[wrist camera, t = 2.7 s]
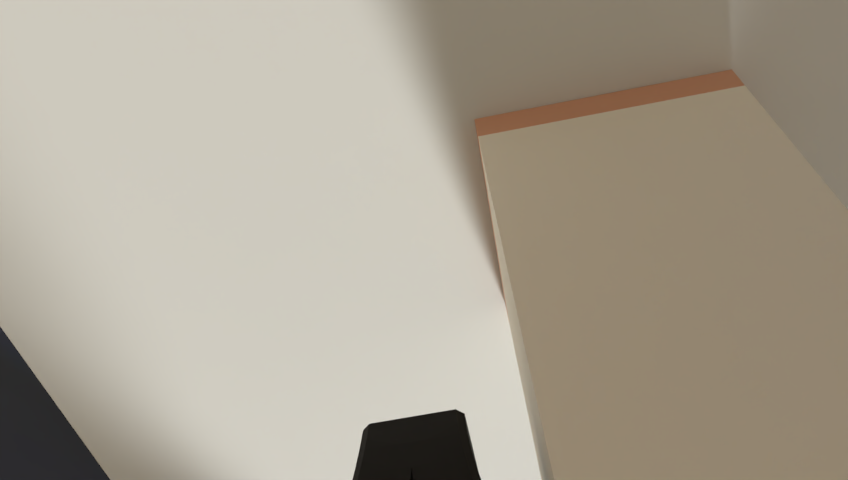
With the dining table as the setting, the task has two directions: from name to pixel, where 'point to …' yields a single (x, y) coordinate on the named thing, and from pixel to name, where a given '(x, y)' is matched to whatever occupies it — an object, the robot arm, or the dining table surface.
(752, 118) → the block
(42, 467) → the dining table surface
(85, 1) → the mat
